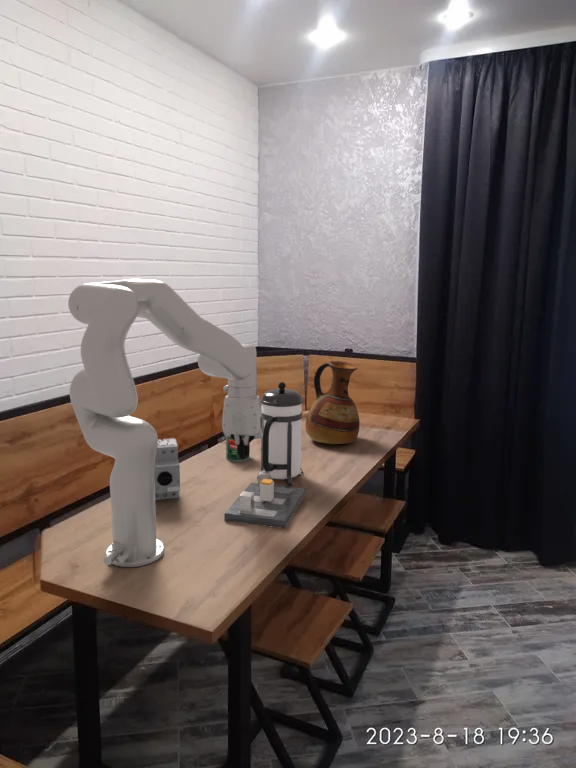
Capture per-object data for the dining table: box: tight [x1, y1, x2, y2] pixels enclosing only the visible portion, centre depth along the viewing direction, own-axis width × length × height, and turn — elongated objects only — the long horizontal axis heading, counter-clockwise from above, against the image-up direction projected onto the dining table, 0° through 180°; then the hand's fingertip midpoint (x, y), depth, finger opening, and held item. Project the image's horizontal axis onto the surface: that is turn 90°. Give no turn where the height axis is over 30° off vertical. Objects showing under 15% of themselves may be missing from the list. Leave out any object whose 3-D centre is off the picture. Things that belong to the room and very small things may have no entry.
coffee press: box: [257, 381, 304, 487], centre depth 175 cm, size 17×16×30 cm
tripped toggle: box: [260, 478, 275, 502], centre depth 157 cm, size 3×3×5 cm
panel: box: [223, 470, 306, 529], centre depth 157 cm, size 22×16×7 cm
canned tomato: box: [225, 435, 250, 463], centre depth 196 cm, size 8×8×11 cm
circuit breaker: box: [154, 437, 181, 501], centre depth 162 cm, size 8×14×15 cm, turn 15°
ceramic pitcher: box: [304, 360, 361, 445], centre depth 214 cm, size 20×20×30 cm
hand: (243, 457), depth 158 cm, fingers closed
